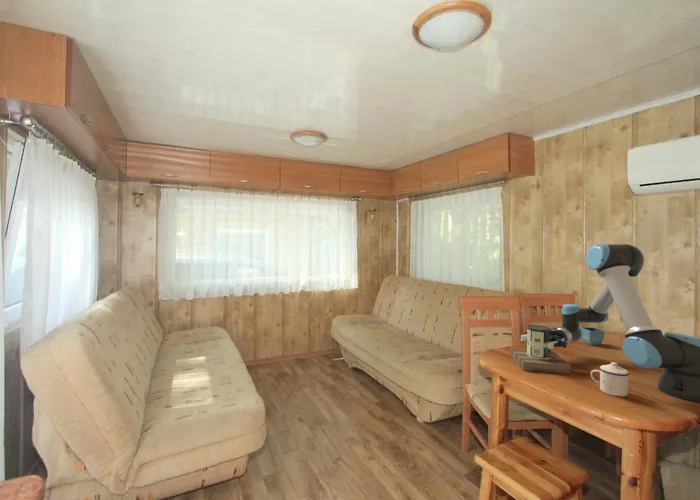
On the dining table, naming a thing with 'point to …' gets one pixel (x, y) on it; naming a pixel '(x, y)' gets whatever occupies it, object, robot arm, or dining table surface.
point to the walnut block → (540, 362)
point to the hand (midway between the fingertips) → (534, 341)
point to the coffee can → (538, 342)
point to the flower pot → (592, 335)
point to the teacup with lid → (613, 379)
